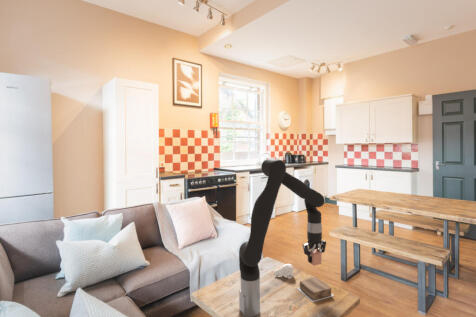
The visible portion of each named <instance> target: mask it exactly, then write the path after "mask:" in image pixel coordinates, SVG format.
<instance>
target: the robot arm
mask: <svg viewBox="0 0 476 317" xmlns="http://www.w3.org/2000/svg"><path fill="white" fill-rule="evenodd" d="M260 169H261V172H262V173H263V175H264V176H266V177H267V180H266V185H265V186H264V189H263V190H262V191H261V193H260V194H259V196H258V197H257V198H256V200H255V202H254V204H253V207H252V208H253V209H252V212H251V218H250V234H249V237H248V240H247V241H245V242H242V244H241V245H240V247H239V251H238V262H239V273H240V290H239V291H238V292H239V294H238V295H239V296H238V297H239V300H238V301H239V302H238V304H239V305H238V306H239V311H240V312H241V315H242V316H243V317H257V316H258V315H260V313H261V284H260V283H261V281H260V279H261V278H260V277H261V274H260V273H261V272H260V268H259V263H260V261H261V260H262V257H263V256H262V255H263V251H264V250H263V249H264V244H265V240H266V235H267V233H268V229H269V226H270V221H271V218H272V216H273V212H274V208H275V204H276V201H277V197H278V196H279V195H278V194H279V192H280V189H281V186H282V185H283V186H284V187H286V188H287V189H288V190H290V191H291V192H292V193H294V194H295V196H298V198H301V199H303V200H304V206H305V210H306V213H307V225H306V232H307V234H306V237H307V241H306V243H303V244H302V249H303V253H304V255H306V256H307V262H308V261H309V262H310V263H312V253H313V252H314V250H315V249H316V250H317V251H319V252H321V255H323V253H325V251H326V247H327V241H326V240H323V226H322V212H321V211H320V210H318V208H320V207H321V208H322V206H324V204H325V197H324V195H323V194H321V193H320V192H318V191H317V190H315V189H313V188H311V187H310V186H308V185H307V184H306V183H305V182H303V181H302V180H300V179H299V178H297V177H295V176H294V175H292V174H290V173H288V172H287V164H286V163H285V162H284V160H281V159H276V158H272V157H271V158H266V159H264V160H263V162H262V163H261V167H260ZM309 262H308V263H309ZM310 263H309V264H310Z"/></svg>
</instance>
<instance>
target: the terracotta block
mask: <svg viewBox="0 0 476 317" xmlns="http://www.w3.org/2000/svg"><path fill="white" fill-rule="evenodd" d="M307 262H308V263H309V264H310V265H312V266H314V267H315V266H318V265H322V254H321V252H319V251H317V250H316V249H315V250H314V252H313V253H312V263H310V262H309V261H308V260H307Z"/></svg>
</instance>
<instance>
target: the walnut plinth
mask: <svg viewBox="0 0 476 317" xmlns="http://www.w3.org/2000/svg"><path fill="white" fill-rule="evenodd" d="M299 287H300V289H301V290H302V291H303V292H305V293H306V294H307V295H308V296H309V297H310V298H312V299H313V300H317V299H321V298H324V297H328V296H331V294H332V288H331V286H329V285H328V284H326V283H325V282H323V281H322V280H320V279H319V278H318V277H313V278H312V277H311V278H308V279H303V280H300V281H299Z"/></svg>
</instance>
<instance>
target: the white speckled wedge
mask: <svg viewBox="0 0 476 317" xmlns="http://www.w3.org/2000/svg"><path fill="white" fill-rule="evenodd" d="M293 274H294V265H292V263H285V264H283V265H282V266H280V267H279V268H278V269H274V270H273V275H274V276H275V277H276V278H279V276H281V277H283V278H284V279H288V280H291V279H292V278H293Z"/></svg>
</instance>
